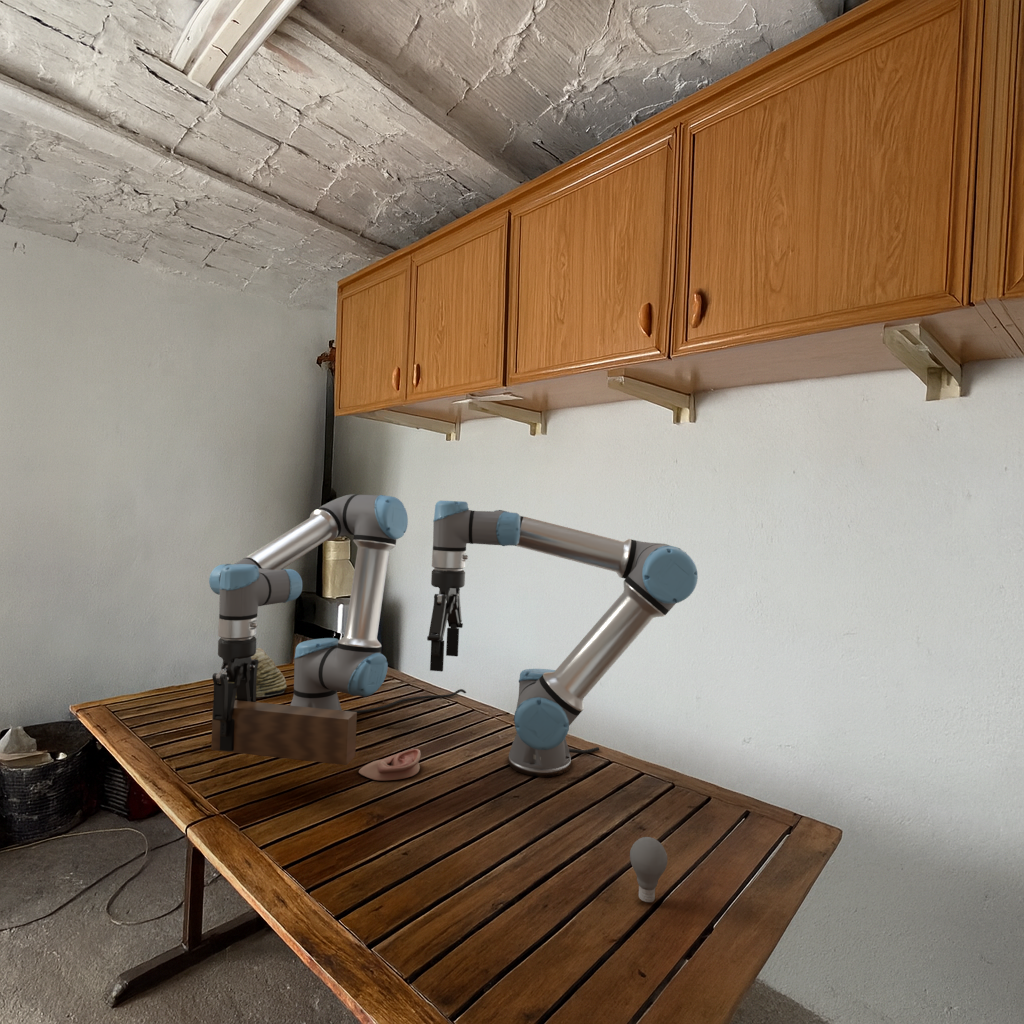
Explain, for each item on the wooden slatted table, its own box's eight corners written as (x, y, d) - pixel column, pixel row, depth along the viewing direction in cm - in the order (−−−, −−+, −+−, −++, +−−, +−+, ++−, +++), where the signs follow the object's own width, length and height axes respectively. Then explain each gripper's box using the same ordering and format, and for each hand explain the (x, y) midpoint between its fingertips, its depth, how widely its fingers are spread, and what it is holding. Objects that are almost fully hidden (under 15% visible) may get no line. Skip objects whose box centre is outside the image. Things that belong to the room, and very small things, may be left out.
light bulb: (623, 888, 106) (626, 829, 106) (658, 888, 107) (661, 829, 106) (633, 912, 100) (636, 849, 100) (670, 911, 101) (673, 849, 100)
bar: (211, 750, 134) (212, 705, 134) (224, 741, 139) (225, 699, 138) (346, 765, 130) (348, 719, 129) (355, 756, 134) (357, 711, 134)
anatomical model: (353, 759, 143) (374, 741, 154) (352, 777, 143) (373, 757, 154) (408, 767, 140) (426, 748, 152) (408, 785, 140) (425, 764, 152)
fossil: (218, 695, 195) (220, 647, 195) (278, 685, 208) (279, 640, 207) (228, 703, 189) (230, 653, 188) (289, 692, 201) (290, 645, 201)
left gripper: (229, 647, 126) (225, 763, 126) (275, 630, 143) (272, 731, 144) (194, 645, 127) (191, 759, 128) (245, 627, 145) (241, 728, 145)
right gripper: (451, 576, 130) (446, 679, 130) (476, 564, 154) (472, 651, 155) (415, 574, 131) (411, 676, 131) (446, 563, 155) (442, 649, 156)
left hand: (234, 744), depth 136 cm, fingers closed on bar, 5 cm apart
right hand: (444, 663), depth 143 cm, fingers open, 13 cm apart
